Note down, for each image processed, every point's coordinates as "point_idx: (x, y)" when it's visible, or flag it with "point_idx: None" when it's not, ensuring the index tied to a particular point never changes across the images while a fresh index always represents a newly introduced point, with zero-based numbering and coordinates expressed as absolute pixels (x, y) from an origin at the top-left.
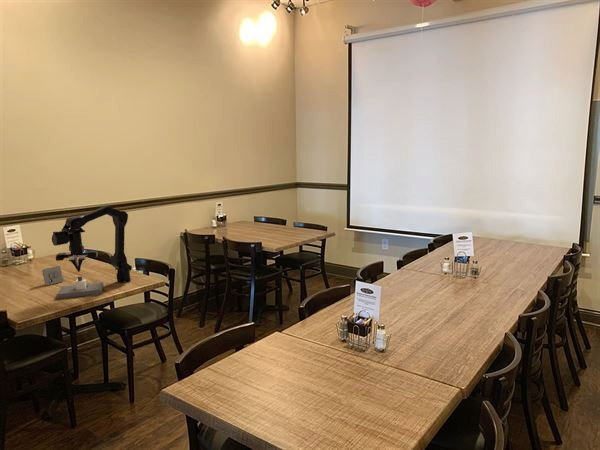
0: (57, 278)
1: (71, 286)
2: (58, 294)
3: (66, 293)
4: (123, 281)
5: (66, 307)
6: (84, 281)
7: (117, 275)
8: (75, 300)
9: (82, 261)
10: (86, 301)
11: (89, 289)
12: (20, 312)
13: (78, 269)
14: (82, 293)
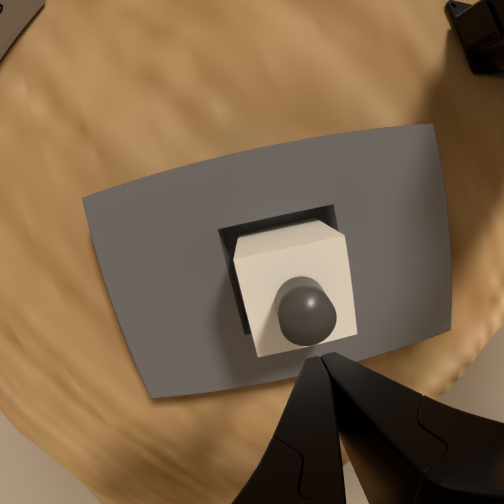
0: (5, 16)
1: (168, 212)
2: (160, 395)
3: (213, 390)
4: (500, 76)
5: None
6: (354, 323)
7: (493, 38)
8: None
9: (501, 424)
10: None
11: (376, 324)
12: (103, 484)
13: (338, 427)
14: None
